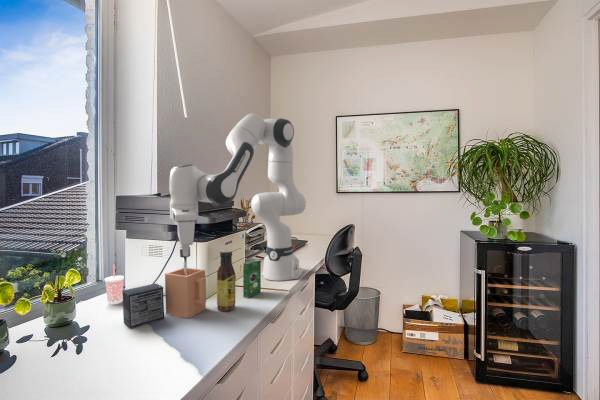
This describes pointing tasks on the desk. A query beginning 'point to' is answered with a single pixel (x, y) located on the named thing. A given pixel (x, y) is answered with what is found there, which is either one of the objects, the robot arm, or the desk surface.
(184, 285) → the square terracotta mug
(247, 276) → the coffee box
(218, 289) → the sauce bottle
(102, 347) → the desk surface
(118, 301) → the beverage cup
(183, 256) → the plunger
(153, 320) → the small box
